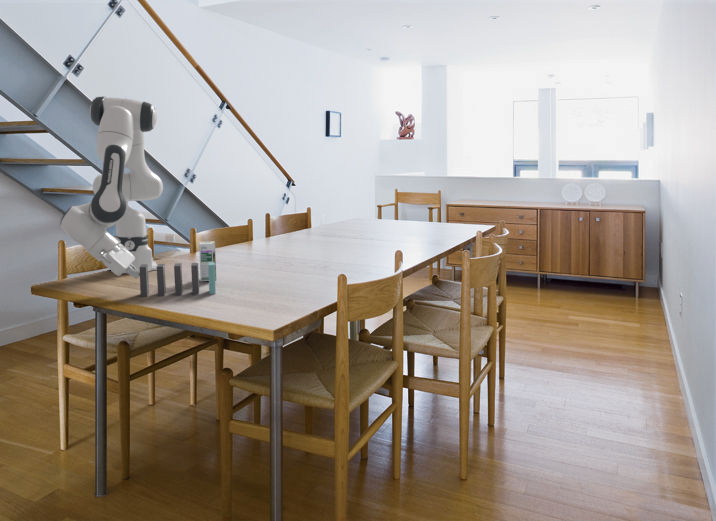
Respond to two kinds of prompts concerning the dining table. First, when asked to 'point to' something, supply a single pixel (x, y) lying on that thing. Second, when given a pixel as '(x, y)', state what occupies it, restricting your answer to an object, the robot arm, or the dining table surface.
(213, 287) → the domino
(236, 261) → the dining table surface
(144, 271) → the domino
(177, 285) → the domino
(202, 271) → the syrup box
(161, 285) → the domino
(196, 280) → the domino
